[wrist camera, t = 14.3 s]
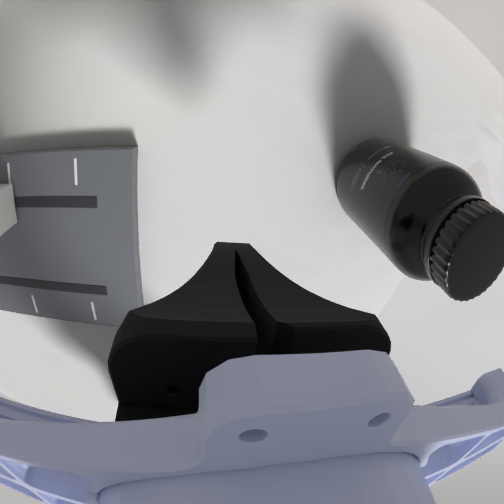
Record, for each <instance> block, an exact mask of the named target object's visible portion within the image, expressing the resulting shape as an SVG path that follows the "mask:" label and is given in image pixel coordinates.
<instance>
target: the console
mask: <svg viewBox="0 0 504 504" xmlns="http://www.w3.org/2000/svg"><path fill="white" fill-rule="evenodd" d="M137 156H138V146H102V147H76V148H59V149H45V150H33V151H23V152H14V153H5V154H0V184H10V183H12V185H13V194H14V202H15V209H16V216H17V223H16V224H15V225H13V226H12V227H11V228H10V229H8V230H7V231H6V232H5V233H4V234H2V235H1V236H0V310H5V311H10V312H16V313H21V314H27V315H33V316H40V317H46V318H53V319H60V320H68V321H75V322H83V323H92V324H101V325H111V326H121V324H122V322H123V320H124V318H125V317H126V315H127V313H128V312H129V311H130V310H133V309H136V308H139V307H142V306H144V305H143V295H142V284H141V272H140V258H139V239H138V212H137Z"/></svg>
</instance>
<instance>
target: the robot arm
mask: <svg viewBox="0 0 504 504" xmlns="http://www.w3.org/2000/svg"><path fill="white" fill-rule="evenodd" d="M390 350H391V341H390V338H389V336H388V334H387V332H386V331H385V329H384V328H383V326H382V324H381V323H380V322H379V320H378V318H377V317H376V315H374V314H371V313H367V312H363V311H359V310H355V309H351V308H348V307H345V306H342V305H339V304H336V303H334V302H331V301H329V300H326V299H324V298H322V297H320V296H318V295H316V294H314V293H311V292H309V291H308V290H306V289H304V288H302V287H301V286H299V285H298V284H296V283H294V282H293V281H291V280H290V279H288V278H287V277H286V276H284V275H283V274H282V273H280V272H279V271H278V270H277V269H275V268H274V267H273V266H272V265H271V264H270V263H269V262H267V261H266V260H265V259H264V258H263V257H262V256H261V255H260V254H259V253H258V252H257V251H256V250H255V249H254V248H253V247H252V246H251V245H250V244H246V243H227V242H217V243H215V244H214V248H213V250H212V252H211V254H210V255H209V257H208V258H207V260H206V261H205V263H204V264H203V265H202V267H201V268H200V269H199V270H198V271H197V272H196V274H195V275H194V276H193V277H192V278H191V279H190V280H189V281H187V282H186V283H185V284H184V285H183V286H181V287H180V288H179V289H177V290H176V291H174V292H173V293H171V294H169V295H167V296H166V297H164V298H162V299H160V300H157V301H155V302H153V303H151V304H148V305H145V306H142V307H139V308H136V309H133V310H130V311H129V312H128V313H127V315H126V317H125V318H124V320H123V322H122V324H121V326H120V328H119V329H118V331H117V334H116V336H115V338H114V342H113V345H112V348H111V352H110V355H109V359H108V369H109V374H110V377H111V380H112V383H113V386H114V389H115V392H116V395H117V398H118V401H119V404H118V409H117V414H116V419H115V422H96V421H90V420H85V419H80V418H75V417H70V416H66V415H62V414H57V413H53V412H49V411H45V410H41V409H38V408H34V407H31V406H27V405H24V404H20V403H17V402H14V401H11V400H8V399H5V398H2V397H0V483H1V484H3V485H6V486H7V487H9V488H11V489H13V490H16V491H18V492H20V493H22V494H24V495H26V496H29V497H31V498H33V499H36V500H38V501H40V502H43V503H45V504H436V503H435V500H434V498H433V495H432V493H431V491H430V488H429V486H431V485H433V484H435V483H437V482H438V481H440V480H442V479H444V478H446V477H448V476H450V475H452V474H453V473H455V472H457V471H459V470H460V469H462V468H464V467H465V466H467V465H469V464H471V463H472V462H474V461H476V460H477V459H479V458H481V457H482V456H484V455H486V454H487V453H489V452H491V451H492V450H493V449H495V448H496V447H497V446H498V445H499V444H500V443H501V442H502V441H503V440H504V372H503V371H502V369H496V370H494V371H491V372H488V373H485V374H484V375H482V376H481V377H480V378H479V379H478V380H477V381H476V382H475V384H474V385H473V387H472V389H471V390H470V391H467V392H464V393H461V394H459V395H456V396H453V397H450V398H446V399H443V400H440V401H437V402H433V403H430V404H427V405H423V406H418V405H416V406H415V405H413V403H414V401H415V400H414V398H413V396H412V394H411V392H410V390H409V389H408V387H407V385H406V383H405V382H404V380H403V378H402V377H401V375H400V373H399V371H398V369H397V368H396V366H395V364H394V362H393V361H392V360H391V358H390V357H389V353H390Z"/></svg>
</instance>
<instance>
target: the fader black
mask: <svg viewBox="0 0 504 504" xmlns="http://www.w3.org/2000/svg"><path fill="white" fill-rule="evenodd" d="M16 223H17V216H16V209H15V202H14V194H13V185H12V183H10V184H0V236H1V235H2V234H4V233H5V232H6V231H7V230H8V229H10V228H11V227H12V226H13V225H15V224H16Z"/></svg>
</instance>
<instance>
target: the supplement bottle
mask: <svg viewBox="0 0 504 504" xmlns="http://www.w3.org/2000/svg"><path fill="white" fill-rule="evenodd" d="M337 194H338V198H339V201H340V204H341V206H342V208H343V209H344V211H345V212H346V214H347V215H348V216H349V217H350V218H351V219H352V220H353V221H354V222H355V223H356V224H357V225H358V227H359V228H360V229H361V230H362V231H363V232H364V233H365V234H366V235H367V236H368V237H369V238H370V239H371V240H372V241H373V242H374V243H375V245H376V246H377V247H378V248H379V249H380V250H381V251H382V252H383V253H384V254H385V255H386V257H387V258H388V259H389V260H390V261H391V262H392V263H393V264H394V265H395V266H396V267H397V268H398V269H399V270H400V271H401V272H402V273H403V274H405V275H406V276H408V277H410V278H413V279H416V280H422V281H431V280H433V281H434V283H436V284H437V285H438V286H440V287H441V288H442V289H443V290H444V292H445V293H446V294H447V295H448V296H449V297H451V298H453V299H454V300H460V301H464V300H465V301H468V300H469V299H473V298H475V297H476V296H479V295H480V294H481V293H482V292H484V291H486V289H487V288H488V287H490V286H491V285H492V283H493V282H494V281H495V280H496V279H497V277H498V275H499V274H500V273H501V271H502V269H503V267H504V213H503V212H501V211H500V210H498V209H497V208H495V207H494V206H492V205H491V204H489V202H487V201H486V200H484V199H483V198H482V195H481V192H480V189H479V187H478V185H477V184H476V182H475V180H474V179H473V178H472V177H471V176H470V175H469V174H468V173H467V172H466V171H465V170H463V169H462V168H460V167H458V166H456V165H454V164H452V163H450V162H447V161H445V160H442V159H440V158H437V157H435V156H432V155H430V154H427V153H425V152H422V151H420V150H417V149H414V148H412V147H409V146H406V145H403V144H400V143H397V142H394V141H391V140H387V139H372V140H368V141H365V142H363V143H361V144H359V145H358V146H356V147H355V148H354V149H353V150H352V151H351V152H350V153H349V154H348V155H347V156H346V158H345V159H344V161H343V163H342V165H341V167H340V170H339V173H338V177H337Z"/></svg>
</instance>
